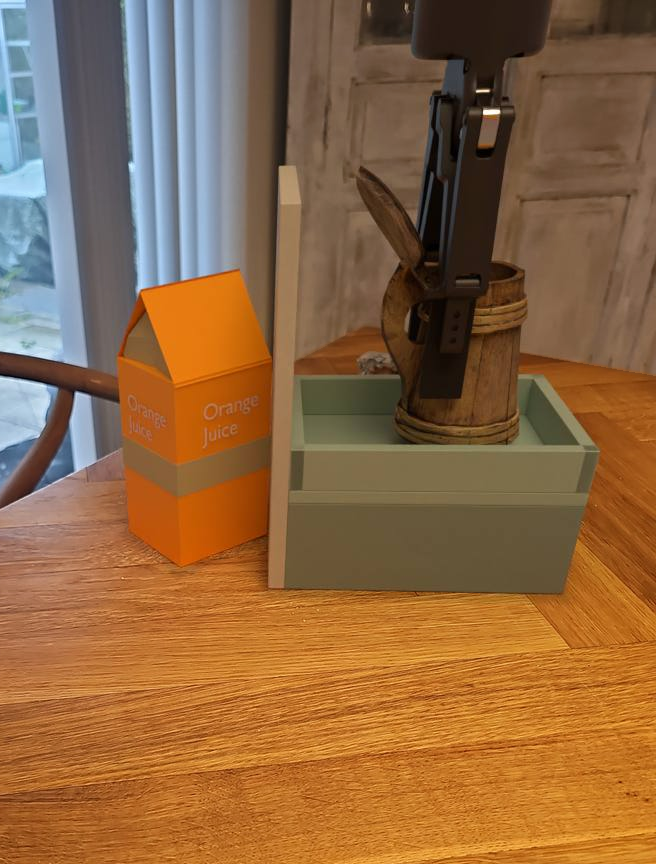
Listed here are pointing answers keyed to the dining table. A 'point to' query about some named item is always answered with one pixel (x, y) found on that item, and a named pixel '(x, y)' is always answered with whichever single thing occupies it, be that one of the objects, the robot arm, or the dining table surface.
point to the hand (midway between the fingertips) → (431, 377)
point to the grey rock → (376, 364)
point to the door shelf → (410, 477)
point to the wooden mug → (488, 351)
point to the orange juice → (195, 417)
